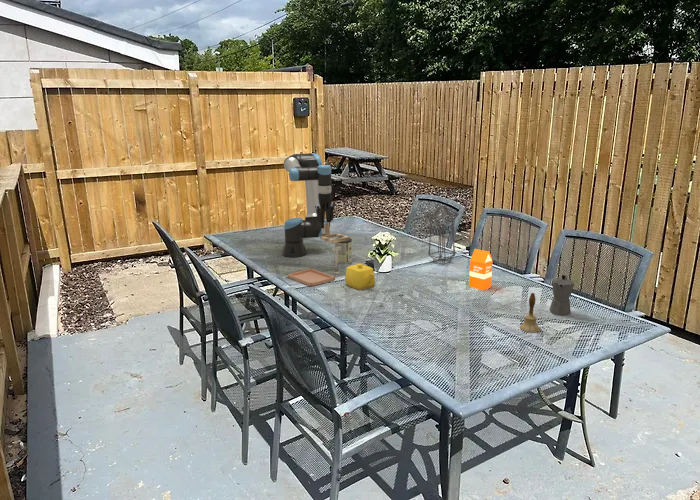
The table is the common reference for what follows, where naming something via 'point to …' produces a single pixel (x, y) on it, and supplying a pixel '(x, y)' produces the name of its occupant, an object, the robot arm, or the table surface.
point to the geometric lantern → (442, 231)
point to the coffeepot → (561, 296)
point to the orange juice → (480, 270)
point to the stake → (336, 260)
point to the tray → (311, 277)
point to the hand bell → (530, 318)
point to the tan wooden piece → (328, 236)
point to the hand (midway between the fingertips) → (325, 233)
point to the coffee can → (344, 251)
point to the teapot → (360, 276)
